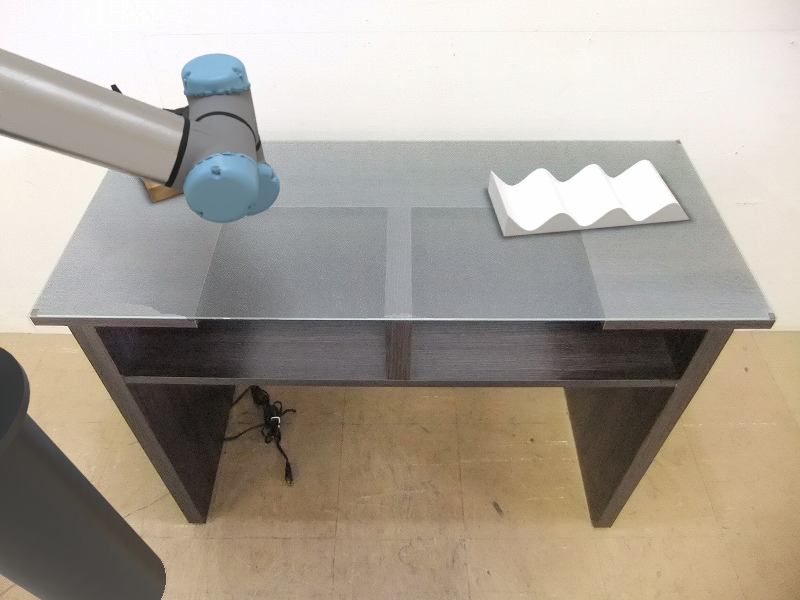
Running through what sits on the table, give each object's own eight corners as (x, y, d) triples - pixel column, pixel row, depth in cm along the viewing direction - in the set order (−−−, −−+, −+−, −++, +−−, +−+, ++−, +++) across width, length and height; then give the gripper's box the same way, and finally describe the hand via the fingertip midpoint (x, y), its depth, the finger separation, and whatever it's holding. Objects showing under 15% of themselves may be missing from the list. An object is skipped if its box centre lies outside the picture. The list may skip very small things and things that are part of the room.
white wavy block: (689, 219, 110) (699, 197, 106) (503, 236, 108) (507, 214, 104) (659, 176, 119) (668, 154, 115) (487, 191, 116) (490, 169, 112)
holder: (153, 202, 115) (147, 189, 112) (135, 166, 122) (130, 152, 120) (221, 180, 119) (217, 166, 117) (200, 146, 127) (196, 133, 124)
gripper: (133, 193, 84) (88, 124, 95) (290, 135, 93) (232, 79, 105) (113, 147, 78) (69, 80, 90) (283, 91, 88) (223, 37, 99)
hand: (157, 80), depth 97 cm, fingers open, 13 cm apart
